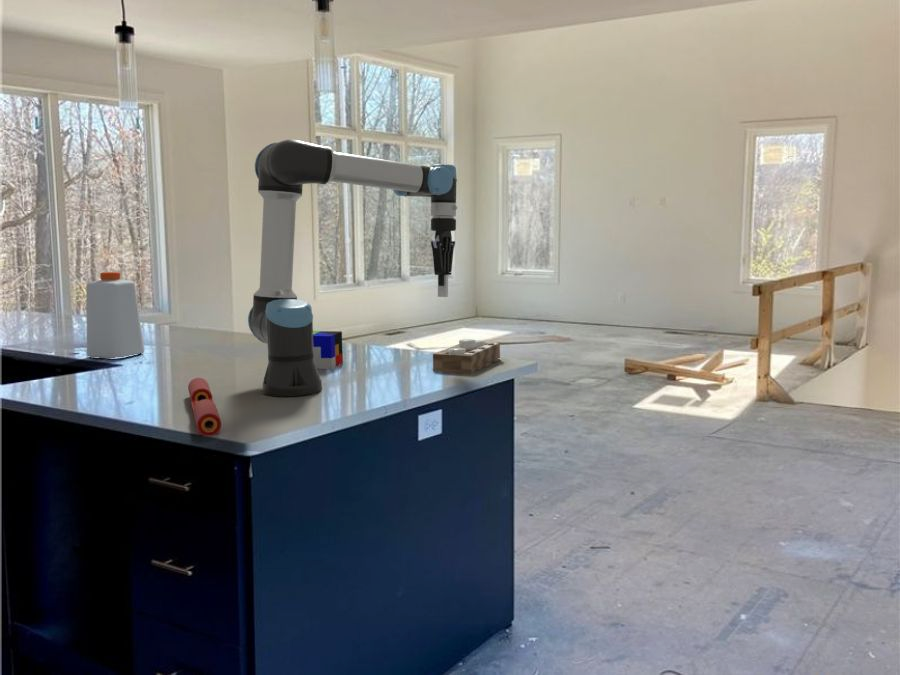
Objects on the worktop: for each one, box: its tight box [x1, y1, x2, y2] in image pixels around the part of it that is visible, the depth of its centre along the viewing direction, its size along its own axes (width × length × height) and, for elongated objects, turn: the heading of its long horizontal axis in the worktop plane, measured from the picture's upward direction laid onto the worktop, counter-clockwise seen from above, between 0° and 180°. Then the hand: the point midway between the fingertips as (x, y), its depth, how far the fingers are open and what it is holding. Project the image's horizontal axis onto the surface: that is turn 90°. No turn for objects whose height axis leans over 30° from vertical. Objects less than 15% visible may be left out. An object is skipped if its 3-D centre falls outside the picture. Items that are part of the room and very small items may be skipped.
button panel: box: [432, 342, 501, 374], centre depth 247 cm, size 24×12×6 cm, turn 157°
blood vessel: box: [187, 377, 222, 437], centre depth 190 cm, size 42×5×5 cm, turn 20°
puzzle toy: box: [313, 330, 344, 370], centre depth 249 cm, size 10×10×10 cm
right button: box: [475, 339, 486, 347], centre depth 254 cm, size 5×5×4 cm
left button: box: [449, 348, 466, 355], centre depth 239 cm, size 5×5×4 cm
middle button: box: [458, 338, 477, 351], centre depth 247 cm, size 5×5×4 cm
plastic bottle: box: [85, 271, 145, 358], centre depth 272 cm, size 15×15×28 cm
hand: (442, 296), depth 247 cm, fingers closed
